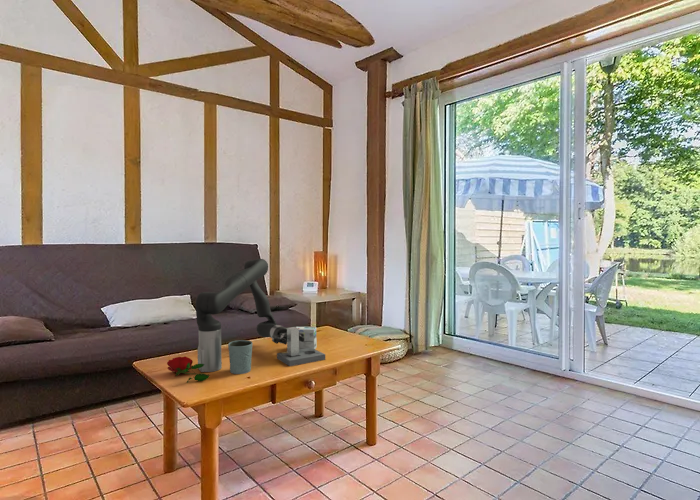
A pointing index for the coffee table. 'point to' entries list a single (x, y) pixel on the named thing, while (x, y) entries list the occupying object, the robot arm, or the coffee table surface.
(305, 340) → the light bulb box
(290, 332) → the square bit
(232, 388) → the coffee table surface
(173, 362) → the flower
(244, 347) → the green embossed pot
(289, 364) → the socket board
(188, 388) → the coffee table surface
